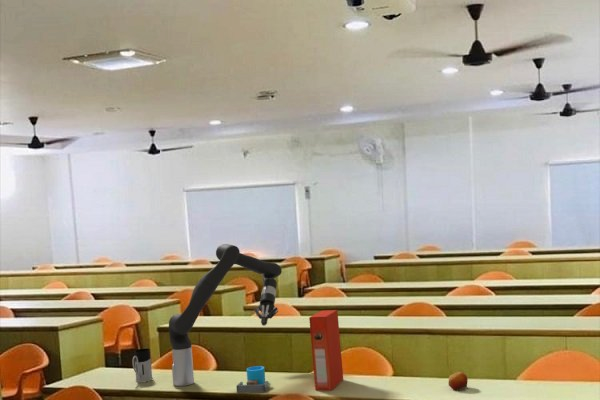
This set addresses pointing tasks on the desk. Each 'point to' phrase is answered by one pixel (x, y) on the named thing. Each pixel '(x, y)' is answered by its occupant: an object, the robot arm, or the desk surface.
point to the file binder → (326, 349)
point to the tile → (252, 382)
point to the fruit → (458, 381)
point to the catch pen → (252, 387)
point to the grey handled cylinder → (142, 365)
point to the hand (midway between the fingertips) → (263, 324)
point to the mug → (256, 374)
